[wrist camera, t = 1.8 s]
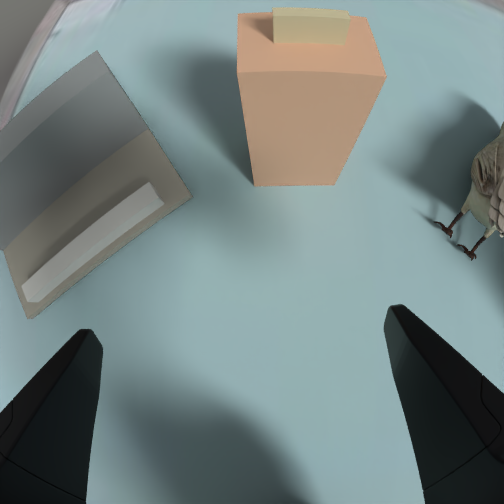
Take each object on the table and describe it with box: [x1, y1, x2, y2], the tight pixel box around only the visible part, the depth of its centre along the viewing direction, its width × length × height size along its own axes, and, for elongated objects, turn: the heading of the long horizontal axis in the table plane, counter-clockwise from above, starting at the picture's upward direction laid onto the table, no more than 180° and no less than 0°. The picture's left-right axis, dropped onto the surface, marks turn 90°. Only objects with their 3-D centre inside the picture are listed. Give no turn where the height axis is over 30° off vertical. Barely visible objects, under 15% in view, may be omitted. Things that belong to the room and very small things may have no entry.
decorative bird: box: [435, 122, 504, 261], centre depth 19 cm, size 5×16×8 cm, turn 139°
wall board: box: [0, 51, 193, 319], centre depth 20 cm, size 11×18×9 cm, turn 124°
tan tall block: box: [237, 8, 387, 186], centre depth 17 cm, size 4×6×15 cm, turn 91°
